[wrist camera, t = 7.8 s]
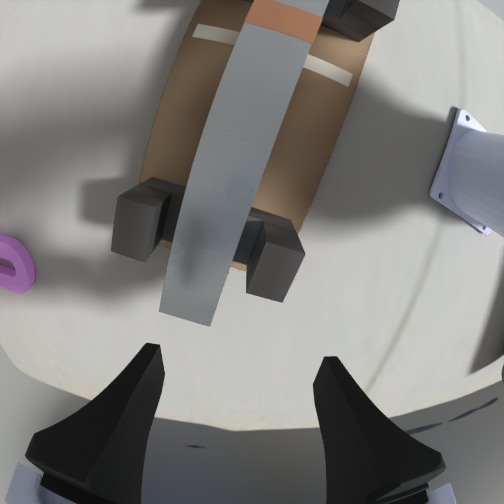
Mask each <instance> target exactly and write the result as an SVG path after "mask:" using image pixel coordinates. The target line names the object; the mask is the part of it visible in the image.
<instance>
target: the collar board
mask: <svg viewBox="0 0 504 504" xmlns="http://www.w3.org/2000/svg"><path fill="white" fill-rule="evenodd" d="M399 1H400V0H329V2H328V5H327V7H326V10H325V12H324V15H323V19H322V22H321V24H320V27H319V29H318V32H317V34H316V37H315V39H314V42H313V44H312V45H311V48H310V50H309V53H308V55H307V58H306V60H305V63H304V66H303V68H302V71H301V73H300V76H299V79H298V81H297V84H296V86H295V89H294V92H293V94H292V97H291V100H290V102H289V105H288V108H287V110H286V113H285V116H284V118H283V121H282V124H281V126H280V129H279V132H278V134H277V137H276V140H275V142H274V145H273V148H272V151H271V153H270V156H269V159H268V162H267V164H266V167H265V170H264V173H263V175H262V178H261V181H260V184H259V186H258V189H257V192H256V195H255V198H254V200H253V203H252V206H251V209H250V212H249V214H248V217H247V220H246V223H245V226H244V229H243V231H242V234H241V237H240V240H239V243H238V246H237V249H236V251H235V254H234V257H233V260H232V263H231V266H230V267H233V268H236V269H240V270H243V271H247V272H246V293H248V294H252V295H256V296H259V297H263V298H267V299H270V300H274V301H278V302H283V300H284V298H285V296H286V294H287V292H288V290H289V288H290V286H291V284H292V282H293V280H294V277H295V275H296V273H297V271H298V269H299V267H300V265H301V263H302V260H303V258H304V256H305V252H304V249H303V247H302V244H301V242H300V240H299V237H298V233H299V231H300V228H301V226H302V224H303V221H304V219H305V217H306V214H307V212H308V210H309V207H310V205H311V202H312V200H313V197H314V195H315V193H316V190H317V188H318V185H319V183H320V180H321V178H322V175H323V173H324V170H325V168H326V165H327V163H328V160H329V158H330V155H331V153H332V150H333V148H334V145H335V142H336V140H337V137H338V135H339V132H340V129H341V127H342V124H343V122H344V119H345V116H346V113H347V111H348V108H349V105H350V103H351V100H352V97H353V94H354V92H355V89H356V86H357V83H358V80H359V78H360V75H361V72H362V69H363V66H364V63H365V60H366V57H367V55H368V52H369V49H370V46H371V43H372V40H373V37H374V33H375V31H377V30H379V29H380V28H382V27H383V26H385V25H387V24H388V23H390V22H392V21H393V20H394V19H395V15H396V12H397V8H398V5H399ZM253 2H254V0H202V1H201V3H200V5H199V7H198V9H197V11H196V13H195V15H194V17H193V19H192V21H191V23H190V25H189V28H188V30H187V32H186V34H185V37H184V39H183V41H182V44H181V46H180V49H179V51H178V53H177V56H176V59H175V61H174V64H173V66H172V69H171V72H170V74H169V77H168V80H167V83H166V86H165V89H164V92H163V95H162V98H161V101H160V104H159V107H158V110H157V113H156V117H155V120H154V124H153V127H152V131H151V134H150V138H149V142H148V146H147V149H146V153H145V158H144V162H143V166H142V170H141V175H140V179H139V184H138V185H137V186H135V187H133V188H132V189H130V190H128V191H127V192H125V193H123V194H122V195H120V196H118V200H117V206H116V213H115V221H114V229H113V237H112V247H111V251H112V252H115V253H118V254H121V255H124V256H127V257H130V258H133V259H136V260H139V261H142V262H146V260H147V259H148V258H149V256H150V255H151V253H152V252H153V250H154V249H155V248H156V246H157V245H161V246H164V247H167V248H170V249H171V247H172V243H173V238H174V234H175V230H176V226H177V222H178V217H179V213H180V209H181V206H182V202H183V198H184V194H185V190H186V187H187V183H188V179H189V176H190V172H191V169H192V165H193V162H194V159H195V155H196V152H197V149H198V146H199V142H200V139H201V136H202V133H203V130H204V127H205V124H206V121H207V118H208V115H209V112H210V109H211V106H212V103H213V100H214V98H215V95H216V92H217V89H218V87H219V84H220V81H221V79H222V76H223V73H224V71H225V68H226V66H227V63H228V61H229V58H230V56H231V53H232V51H233V48H234V46H235V44H236V41H237V39H238V36H239V34H240V32H241V30H242V27H243V25H244V21H245V19H246V17H247V14H248V12H249V10H250V8H251V6H252V4H253Z"/></svg>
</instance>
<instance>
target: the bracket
mask: <svg viewBox="0 0 504 504" xmlns="http://www.w3.org/2000/svg"><path fill="white" fill-rule="evenodd" d="M0 258H3V259H6V260H9V261H10V262H11V263H12V264H13V265H14V267H15V269H12V268H9V267H6V266H3V265H0V286H2V287H4V288H7V289H9V290H12V291H15V292H17V293H23V292H25V291H26V290H27V289H28V288H29V287H30V286H31V285H32V284H33V282H34V280H35V268H34V264H33V261H32V259H31V256H30V254H29V253H28V251H27V249H26V248H25V247H24V245H23V244H22V243H21V242H20V241H19V240H17V239H15V238H13V237H9V236H4V235H0Z"/></svg>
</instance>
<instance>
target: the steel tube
mask: <svg viewBox="0 0 504 504" xmlns="http://www.w3.org/2000/svg"><path fill="white" fill-rule="evenodd" d="M328 2H329V0H254V2H253V4H252V6H251V8H250V10H249V12H248V14H247V17H246V19H245V21H244V25H243V27H242V30H241V32H240V34H239V36H238V39H237V41H236V44H235V46H234V48H233V51H232V53H231V56H230V58H229V61H228V63H227V66H226V68H225V71H224V73H223V76H222V79H221V81H220V84H219V87H218V89H217V92H216V95H215V98H214V100H213V103H212V106H211V109H210V112H209V115H208V118H207V121H206V124H205V127H204V130H203V133H202V136H201V139H200V142H199V146H198V149H197V152H196V155H195V159H194V162H193V165H192V169H191V172H190V176H189V179H188V183H187V187H186V190H185V194H184V198H183V202H182V206H181V209H180V213H179V217H178V222H177V226H176V230H175V234H174V238H173V243H172V247H171V252H170V256H169V261H168V266H167V271H166V276H165V281H164V286H163V291H162V297H161V302H160V308H159V312H162V313H166V314H169V315H172V316H175V317H178V318H182V319H185V320H189V321H192V322H195V323H199V324H202V325H206V326H210V325H211V322H212V319H213V316H214V313H215V310H216V307H217V304H218V301H219V298H220V295H221V292H222V289H223V286H224V283H225V280H226V277H227V275H228V272H229V269H230V266H231V263H232V260H233V257H234V254H235V251H236V249H237V246H238V243H239V240H240V237H241V234H242V231H243V229H244V226H245V223H246V220H247V217H248V214H249V212H250V209H251V206H252V203H253V200H254V198H255V195H256V192H257V189H258V186H259V184H260V181H261V178H262V175H263V173H264V170H265V167H266V164H267V162H268V159H269V156H270V153H271V151H272V148H273V145H274V142H275V140H276V137H277V134H278V132H279V129H280V126H281V124H282V121H283V118H284V116H285V113H286V110H287V108H288V105H289V102H290V100H291V97H292V94H293V92H294V89H295V86H296V84H297V81H298V79H299V76H300V73H301V71H302V68H303V66H304V63H305V60H306V58H307V55H308V53H309V50H310V48H311V45H312V44H313V42H314V39H315V37H316V34H317V32H318V29H319V27H320V24H321V22H322V19H323V15H324V12H325V10H326V7H327V5H328Z"/></svg>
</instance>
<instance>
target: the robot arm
mask: <svg viewBox="0 0 504 504" xmlns="http://www.w3.org/2000/svg"><path fill="white" fill-rule="evenodd" d="M466 118H467V120H466ZM439 193H440V197H438V196H439ZM430 196H431V197H432V198H433V199H435V200H436V201H438V202H439V203H441V204H442V205H444V206H446V207H447V208H449V209H450V210H451V211H453V212H454V213H456V214H457V215H459V216H460V217H462V218H463V219H465V220H466V221H467V222H469V223H470V224H471V225H473V226H474V227H476V228H477V229H478V230H480V231H481V232H482V233H483V234H485V235H486V236H489V235H490V233H491V231H492V230H493V231H495V232H496V233H498V234H500V235H501V236H503V237H504V136H503V135H498V134H493V133H488V132H487V131H486V130H485V129H484V128H483V127H482V126H481V125H480V124H479V123H478V122H477V121H476V120H475V119H474V118H473V117H472V116H471V115H470V114H469V113H468V112H467V111H466V110H465V109H458V111H457V114H456V117H455V121H454V124H453V128H452V131H451V134H450V137H449V140H448V143H447V146H446V149H445V152H444V155H443V158H442V160H441V163H440V166H439V168H438V171H437V174H436V176H435V179H434V181H433V184H432V186H431V189H430ZM164 377H165V371H164V366H163V360H162V354H161V348H160V345H158V344H152V343H146V344H145V345H144V346H143V347H142V348H141V350H140V351H139V352H138V353H137V355H136V356H135V357H134V358H133V359H132V361H131V362H130V363H129V364H128V365H127V366H126V367H125V369H124V370H123V371H122V372H121V373H120V374H119V375H118V376H117V377H116V378H115V379H114V380H113V381H112V382H111V383H110V384H109V385H108V386H107V387H106V388H105V389H104V390H103V391H102V392H101V393H100V394H99V395H97V396H96V397H95V398H94V399H93V400H91V401H90V402H89V403H88V404H87V405H85V406H84V407H82V408H81V409H79V410H78V411H77V412H75V413H74V414H72V415H71V416H69V417H67V418H65V419H64V420H62V421H60V422H58V423H57V424H55V425H53V426H50V427H48V428H46V429H44V430H41V431H39V432H37V433H35V434H34V435H33V437H32V439H31V441H30V444H29V446H28V449H27V452H26V454H25V456H26V458H27V459H28V460H29V461H30V462H31V463H32V464H34V465H35V466H36V467H38V468H39V469H41V470H42V471H43V472H44V474H43V477H42V476H41V475H39V474H38V473H36V472H34V471H33V470H31V469H29V468H27V467H26V466H24V465H23V464H21V463H20V462H18V463H17V465H16V468H15V471H14V474H13V477H12V479H11V482H10V485H9V488H8V492H7V495H6V498H5V501H6V502H7V503H8V504H141V487H142V475H143V467H144V459H145V451H146V445H147V440H148V436H149V431H150V428H151V425H152V422H153V419H154V415H155V412H156V409H157V406H158V403H159V399H160V396H161V393H162V387H163V382H164ZM313 391H314V402H315V407H316V412H317V416H318V421H319V425H320V430H321V434H322V438H323V443H324V449H325V461H326V478H327V500H326V504H457V503H456V500H455V497H454V493H453V491H452V487H451V484H450V483H448V484H446V485H444V486H442V487H440V488H437V489H435V490H433V491H431V492H429V493H426V489H428V487H429V486H428V481H430V480H432V479H433V478H435V477H436V476H437V475H439V474H440V473H442V472H443V471H444V470H445V469H446V466H445V463H444V460H443V458H442V455H441V453H440V452H438V451H436V450H434V449H432V448H430V447H428V446H426V445H424V444H422V443H420V442H419V441H417V440H416V439H414V438H413V437H411V436H410V435H408V434H407V433H406V432H404V431H403V430H402V429H400V428H399V427H398V426H396V425H395V424H394V423H393V422H392V421H390V419H388V418H387V417H386V416H385V415H384V414H383V413H382V412H381V411H380V410H379V409H378V408H377V407H376V406H375V405H374V403H373V402H372V401H371V400H370V399H369V398H368V397H367V395H366V394H365V393H364V392H363V390H362V389H361V388H360V387H359V385H358V384H357V383H356V382H355V380H354V379H353V378H352V376H351V375H350V374H349V372H348V371H347V369H346V368H345V367H344V365H343V364H342V363H341V361H340V360H339V358H338V357H337V356H331V357H324V359H323V361H322V364H321V366H320V368H319V371H318V373H317V376H316V378H315V380H314V383H313Z"/></svg>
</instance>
